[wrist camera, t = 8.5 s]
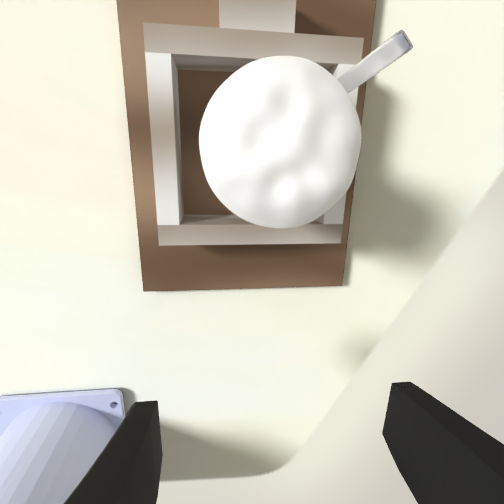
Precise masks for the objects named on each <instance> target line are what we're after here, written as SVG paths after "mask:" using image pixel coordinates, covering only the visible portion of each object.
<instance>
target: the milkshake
mask: <svg viewBox="0 0 504 504" xmlns="http://www.w3.org/2000/svg"><path fill="white" fill-rule="evenodd" d="M412 48H413V45H412V43H411V42H410V40H409V38H408V37H407V35H406V34H405V32H404V31H403V30H400V31H398V32H397V33H395V34H394V35H393V36H391V37H390V38H389V39H388V40H386V41H385V42H384V43H383V44H381V45H380V46H379V47H377V48H376V49H375V50H374V51H372V52H371V53H370V54H369V55H367V56H366V57H365V58H364V59H362V60H361V61H360V62H358V63H357V64H356V65H355V66H353V67H352V68H351V69H350V70H348V71H347V72H346V73H345V74H343V75H342V76H341V77H340V78H338V79H336V78H335V77H334V76H333V75H332V74H331V73H329V72H328V71H327V70H326V69H324V68H323V67H322V66H320V65H318V64H317V63H315V62H313V61H311V60H308V59H305V58H301V57H295V56H271V57H266V58H261V59H258V60H255V61H252V62H250V63H248V64H246V65H244V66H243V67H241V68H240V69H238V70H237V71H236V72H235V73H233V74H232V75H231V76H230V77H229V78H228V79H227V80H225V81H224V82H223V84H222V85H221V86H220V87H219V88H218V89H217V90H216V92H215V93H214V95H213V96H212V98H211V99H210V101H209V103H208V105H207V107H206V109H205V112H204V115H203V118H202V121H201V125H200V131H199V149H200V156H201V161H202V166H203V170H204V173H205V176H206V179H207V182H208V184H209V186H210V188H211V189H212V191H213V192H214V194H215V195H216V197H217V198H218V199H219V200H220V201H221V202H222V203H223V204H224V205H225V206H226V207H227V208H228V209H229V210H230V211H231V212H233V213H234V214H236V215H237V216H239V217H240V218H242V219H244V220H246V221H248V222H250V223H253V224H256V225H260V226H264V227H270V228H294V227H299V226H302V225H305V224H307V223H310V222H312V221H314V220H315V219H317V218H318V217H320V216H321V215H323V214H324V213H325V212H326V211H327V210H329V209H330V208H331V207H332V206H333V205H334V204H335V203H336V202H337V201H339V200H340V199H341V198H342V196H343V195H344V194H345V193H346V192H347V190H348V189H349V187H350V185H351V183H352V180H353V178H354V174H355V171H356V166H357V162H358V158H359V154H360V149H361V141H362V133H361V125H360V121H359V117H358V114H357V111H356V109H355V106H354V104H353V102H352V100H351V98H350V97H349V95H348V93H350V92H351V91H353V90H354V89H355V88H357V87H358V86H360V85H361V84H363V83H364V82H366V81H367V80H368V79H370V78H371V77H373V76H374V75H376V74H377V73H379V72H380V71H381V70H383V69H384V68H386V67H387V66H389V65H390V64H392V63H393V62H394V61H396V60H397V59H399V58H400V57H402V56H403V55H404V54H406V53H407V52H409V51H410V50H411V49H412Z"/></svg>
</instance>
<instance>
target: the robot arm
mask: <svg viewBox="0 0 504 504" xmlns="http://www.w3.org/2000/svg"><path fill="white" fill-rule="evenodd" d="M112 402H116V403H118V404H114V403H112ZM383 436H384V438H385V440H386V443H387V445H388V448H389V450H390V452H391V454H392V456H393V459H394V461H395V463H396V465H397V467H398V469H399V471H400V473H401V475H402V476H403V478H404V480H405V482H406V483H407V485H408V487H409V488H410V490H411V492H412V494H413V495H414V497H415V499H416V501H417V502H418V504H504V444H502V443H501V442H499V441H497V440H496V439H495V438H493V437H491V436H490V435H488V434H487V433H485V432H484V431H482V430H481V429H479V428H478V427H476V426H475V425H473V424H472V423H471V422H469V421H468V420H466V419H465V418H463V417H462V416H460V415H459V414H457V413H456V412H455V411H453V410H451V409H450V408H449V407H447V406H446V405H444V404H443V403H441V402H440V401H438V400H437V399H436V398H434V397H432V396H431V395H430V394H428V393H426V392H425V391H423V390H422V389H421V388H419V387H418V386H416V385H414V384H413V383H411V382H399V383H392V386H391V391H390V396H389V402H388V407H387V412H386V418H385V422H384V428H383ZM161 463H162V444H161V434H160V423H159V412H158V401H146V402H135V403H134V404H133V405H132V406H131V408H130V410H129V411H128V413H127V415H126V416H125V408H124V400H123V394H122V392H121V391H120V390H118V389H104V390H88V391H73V392H58V393H42V394H27V395H12V396H0V504H156V501H157V496H158V488H159V480H160V471H161Z"/></svg>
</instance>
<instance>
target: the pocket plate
mask: <svg viewBox="0 0 504 504" xmlns="http://www.w3.org/2000/svg"><path fill="white" fill-rule="evenodd" d="M375 7H376V0H117V11H118V21H119V32H120V43H121V54H122V65H123V75H124V86H125V97H126V108H127V119H128V129H129V140H130V151H131V162H132V173H133V183H134V194H135V205H136V216H137V227H138V237H139V248H140V259H141V270H142V281H143V291H176V290H209V289H243V288H276V287H310V286H342V281H343V273H344V264H345V256H346V248H347V239H348V231H349V223H350V215H351V206H352V198H353V190H354V181H355V174H354V178H353V180H352V183H351V185H350V187H349V189H348V190H347V192H346V193H345V194H344V195H343V196H342V198H341V199H340V200H339V201H337V202H336V203H335V204H334V205H333V206H332V207H331V208H330V209H329V210H327V211H326V212H325V213H324V214H323V215H321V216H320V217H318V218H317V219H315V220H314V221H312V222H310V223H307V224H305V225H302V226H299V227H294V228H270V227H264V226H260V225H256V224H253V223H250V222H248V221H246V220H244V219H242V218H240V217H239V216H237V215H236V214H234V213H233V212H231V211H230V210H229V209H228V208H227V207H226V206H225V205H224V204H223V203H222V202H221V201H220V200H219V199H218V198H217V197H216V195H215V194H214V192H213V191H212V189H211V188H210V186H209V184H208V182H207V179H206V176H205V173H204V170H203V166H202V161H201V156H200V149H199V131H200V125H201V121H202V118H203V115H204V112H205V109H206V107H207V105H208V103H209V101H210V99H211V98H212V96H213V95H214V93H215V92H216V90H217V89H218V88H219V87H220V86H221V85H222V84H223V82H224V81H225V80H227V79H228V78H229V77H230V76H231V75H232V74H233V73H235V72H236V71H237V70H238V69H240V68H241V67H243V66H244V65H246V64H248V63H250V62H252V61H255V60H258V59H261V58H266V57H271V56H295V57H301V58H305V59H308V60H311V61H313V62H315V63H317V64H318V65H320V66H322V67H323V68H324V69H326V70H327V71H328V72H329V73H331V74H332V75H333V76H334V77H335V78H336V79H338V78H340V77H341V76H342V75H343V74H345V73H346V72H347V71H348V70H350V69H351V68H352V67H353V66H355V65H356V64H357V63H358V62H360V61H361V60H362V59H364V58H365V57H366V56H367V55H369V54H370V48H371V40H372V32H373V23H374V15H375ZM366 82H367V81H366ZM366 82H364V83H363V84H361V85H360V86H358V87H357V88H355V89H354V90H353V91H351V92H350V93H348V95H349V97H350V98H351V100H352V102H353V104H354V106H355V109H356V111H357V114H358V117H359V121H360V125H361V123H362V115H363V107H364V98H365V90H366ZM355 173H356V171H355Z"/></svg>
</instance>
